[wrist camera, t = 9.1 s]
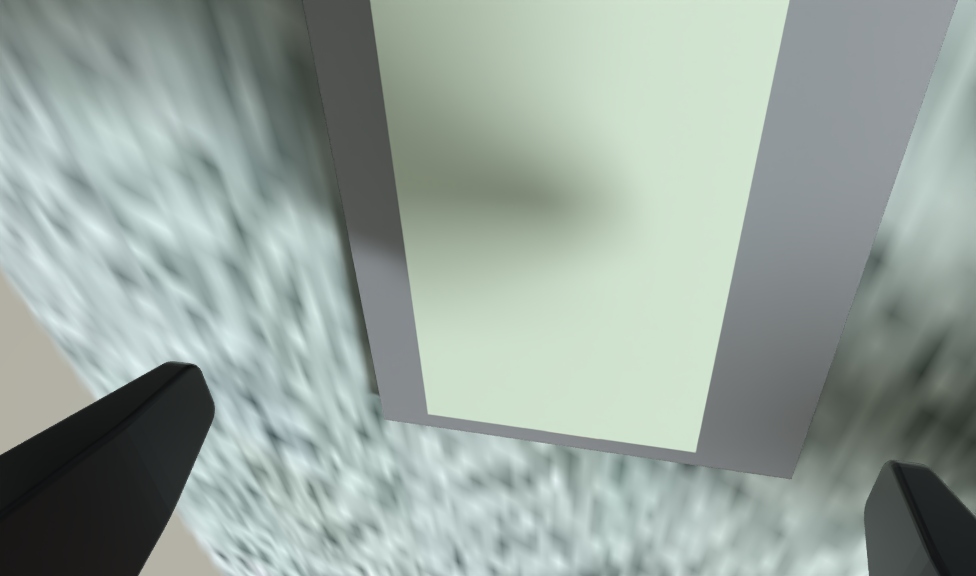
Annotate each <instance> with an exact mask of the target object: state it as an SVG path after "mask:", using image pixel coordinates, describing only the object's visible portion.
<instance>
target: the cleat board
mask: <svg viewBox="0 0 976 576" xmlns="http://www.w3.org/2000/svg"><path fill="white" fill-rule="evenodd" d="M957 1H958V0H789V5H788V10H787V15H786V20H785V25H784V29H783V34H782V39H781V44H780V49H779V53H778V58H777V63H776V68H775V73H774V77H773V82H772V87H771V92H770V97H769V102H768V106H767V111H766V116H765V121H764V126H763V130H762V135H761V140H760V145H759V150H758V154H757V159H756V164H755V169H754V174H753V179H752V183H751V188H750V193H749V198H748V203H747V207H746V212H745V217H744V222H743V227H742V231H741V236H740V241H739V246H738V251H737V256H736V260H735V265H734V270H733V275H732V280H731V284H730V289H729V294H728V299H727V304H726V308H725V313H724V318H723V323H722V328H721V333H720V337H719V342H718V347H717V352H716V357H715V361H714V366H713V371H712V376H711V381H710V385H709V390H708V395H707V400H706V405H705V410H704V414H703V419H702V424H701V429H700V434H699V438H698V443H697V448H696V453H695V452H689V451H682V450H675V449H668V448H661V447H654V446H647V445H640V444H633V443H626V442H619V441H612V440H605V439H598V438H591V437H584V436H577V435H570V434H563V433H556V432H549V431H542V430H535V429H528V428H521V427H514V426H507V425H500V424H493V423H486V422H479V421H472V420H465V419H458V418H451V417H444V416H437V415H430V414H428V410H427V403H426V396H425V389H424V382H423V375H422V368H421V361H420V353H419V346H418V339H417V332H416V325H415V318H414V311H413V303H412V296H411V289H410V282H409V275H408V268H407V261H406V253H405V246H404V239H403V232H402V225H401V218H400V211H399V204H398V196H397V189H396V182H395V175H394V168H393V161H392V154H391V146H390V139H389V132H388V125H387V118H386V111H385V104H384V97H383V89H382V82H381V75H380V68H379V61H378V54H377V47H376V39H375V32H374V25H373V18H372V11H371V4H370V0H302V2H303V7H304V13H305V18H306V23H307V28H308V33H309V38H310V43H311V48H312V53H313V58H314V64H315V69H316V74H317V79H318V84H319V89H320V94H321V99H322V104H323V109H324V114H325V120H326V125H327V130H328V135H329V140H330V145H331V150H332V155H333V160H334V165H335V170H336V176H337V181H338V186H339V191H340V196H341V201H342V206H343V211H344V216H345V221H346V227H347V232H348V237H349V242H350V247H351V252H352V257H353V262H354V267H355V272H356V277H357V283H358V288H359V293H360V298H361V303H362V308H363V313H364V318H365V323H366V328H367V333H368V339H369V344H370V349H371V354H372V359H373V364H374V369H375V374H376V379H377V384H378V390H379V395H380V400H381V405H382V410H383V415H384V419H385V420H392V421H398V422H405V423H412V424H419V425H426V426H432V427H439V428H446V429H453V430H460V431H466V432H473V433H480V434H487V435H494V436H500V437H507V438H514V439H521V440H528V441H534V442H541V443H548V444H555V445H562V446H568V447H575V448H582V449H589V450H596V451H602V452H609V453H616V454H623V455H630V456H636V457H643V458H650V459H657V460H664V461H670V462H677V463H684V464H691V465H698V466H704V467H711V468H718V469H725V470H732V471H738V472H745V473H752V474H759V475H766V476H772V477H779V478H786V479H792V476H793V473H794V470H795V467H796V464H797V461H798V459H799V456H800V453H801V450H802V447H803V444H804V441H805V438H806V436H807V433H808V430H809V427H810V424H811V421H812V418H813V415H814V413H815V410H816V407H817V404H818V401H819V398H820V395H821V392H822V390H823V387H824V384H825V381H826V378H827V375H828V372H829V369H830V367H831V364H832V361H833V358H834V355H835V352H836V349H837V346H838V343H839V341H840V338H841V335H842V332H843V329H844V326H845V323H846V320H847V318H848V315H849V312H850V309H851V306H852V303H853V300H854V297H855V295H856V292H857V289H858V286H859V283H860V280H861V277H862V274H863V272H864V269H865V266H866V263H867V260H868V257H869V254H870V251H871V249H872V246H873V243H874V240H875V237H876V234H877V231H878V228H879V225H880V223H881V220H882V217H883V214H884V211H885V208H886V205H887V202H888V200H889V197H890V194H891V191H892V188H893V185H894V182H895V179H896V177H897V174H898V171H899V168H900V165H901V162H902V159H903V156H904V154H905V151H906V148H907V145H908V142H909V139H910V136H911V133H912V131H913V128H914V125H915V122H916V119H917V116H918V113H919V110H920V107H921V105H922V102H923V99H924V96H925V93H926V90H927V87H928V84H929V82H930V79H931V76H932V73H933V70H934V67H935V64H936V61H937V59H938V56H939V53H940V50H941V47H942V44H943V41H944V38H945V36H946V33H947V30H948V27H949V24H950V21H951V18H952V15H953V13H954V10H955V7H956V4H957Z"/></svg>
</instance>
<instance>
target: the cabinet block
mask: <svg viewBox="0 0 976 576" xmlns="http://www.w3.org/2000/svg"><path fill="white" fill-rule="evenodd" d="M370 4H371V11H372V18H373V25H374V32H375V39H376V47H377V54H378V61H379V68H380V75H381V82H382V89H383V97H384V104H385V111H386V118H387V125H388V132H389V139H390V146H391V154H392V161H393V168H394V175H395V182H396V189H397V196H398V204H399V211H400V218H401V225H402V232H403V239H404V246H405V253H406V261H407V268H408V275H409V282H410V289H411V296H412V303H413V311H414V318H415V325H416V332H417V339H418V346H419V353H420V361H421V368H422V375H423V382H424V389H425V396H426V403H427V410H428V414H430V415H437V416H444V417H451V418H458V419H465V420H472V421H479V422H486V423H493V424H500V425H507V426H514V427H521V428H528V429H535V430H542V431H549V432H556V433H563V434H570V435H577V436H584V437H591V438H598V439H605V440H612V441H619V442H626V443H633V444H640V445H647V446H654V447H661V448H668V449H675V450H682V451H689V452H695V453H696V448H697V443H698V438H699V434H700V429H701V424H702V419H703V414H704V410H705V405H706V400H707V395H708V390H709V385H710V381H711V376H712V371H713V366H714V361H715V357H716V352H717V347H718V342H719V337H720V333H721V328H722V323H723V318H724V313H725V308H726V304H727V299H728V294H729V289H730V284H731V280H732V275H733V270H734V265H735V260H736V256H737V251H738V246H739V241H740V236H741V231H742V227H743V222H744V217H745V212H746V207H747V203H748V198H749V193H750V188H751V183H752V179H753V174H754V169H755V164H756V159H757V154H758V150H759V145H760V140H761V135H762V130H763V126H764V121H765V116H766V111H767V106H768V102H769V97H770V92H771V87H772V82H773V77H774V73H775V68H776V63H777V58H778V53H779V49H780V44H781V39H782V34H783V29H784V25H785V20H786V15H787V10H788V5H789V0H370Z"/></svg>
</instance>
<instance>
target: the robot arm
mask: <svg viewBox="0 0 976 576" xmlns="http://www.w3.org/2000/svg"><path fill="white" fill-rule="evenodd" d="M214 413H215V406H214V401H213V399H212V396H211V394H210V391H209V389H208V386H207V384H206V381H205V379H204V376H203V374H202V371H201V370H200V368H199V367H198V366H196V365H195V364H191V363H183V362H176V361H170V362H166V363H164V364H162V365H160V366H158V367H157V368H155V369H153V370H151V371H149V372H148V373H146V374H144V375H142V376H140V377H139V378H137V379H135V380H133V381H132V382H130V383H128V384H126V385H124V386H123V387H121V388H119V389H117V390H115V391H114V392H112V393H110V394H108V395H107V396H105V397H103V398H101V399H99V400H98V401H96V402H94V403H92V404H91V405H89V406H87V407H85V408H83V409H82V410H80V411H78V412H77V413H75V414H73V415H71V416H69V417H67V418H66V419H64V420H62V421H60V422H59V423H57V424H55V425H53V426H51V427H49V428H48V429H46V430H44V431H43V432H41V433H39V434H37V435H35V436H33V437H32V438H30V439H28V440H26V441H24V442H23V443H21V444H19V445H17V446H16V447H14V448H12V449H10V450H9V451H7V452H5V453H3V454H1V455H0V576H138V575H139V574H140V572H141V570H142V568H143V566H144V565H145V562H146V561H147V559H148V557H149V556H150V554H151V552H152V550H153V548H154V547H155V545H156V543H157V541H158V539H159V538H160V536H161V534H162V532H163V530H164V528H165V527H166V525H167V523H168V521H169V519H170V517H171V515H172V513H173V511H174V509H175V507H176V504H177V502H178V500H179V498H180V496H181V493H182V491H183V489H184V486H185V484H186V482H187V479H188V477H189V475H190V472H191V470H192V468H193V465H194V463H195V461H196V459H197V456H198V454H199V452H200V449H201V447H202V445H203V442H204V440H205V438H206V435H207V433H208V431H209V428H210V426H211V424H212V421H213V418H214ZM864 525H865V536H866V547H867V558H868V569H869V576H976V517H975V516H974V515H973V514H972V512H971V511H970V510H969V509H968V508H967V507H966V506H965V505H964V504H963V503H962V502H961V500H960V499H959V498H958V497H957V496H956V495H955V494H954V493H953V492H952V491H951V490H950V488H949V487H948V486H947V485H946V484H945V483H944V482H943V481H942V480H941V479H940V478H939V476H938V475H937V474H936V473H935V472H934V471H933V470H932V469H930V468H929V467H928V466H926V465H923V464H919V463H912V462H904V461H897V460H890V461H888V462H886V463H885V464H884V466H883V467H882V469H881V471H880V473H879V476H878V478H877V480H876V482H875V484H874V486H873V488H872V491H871V493H870V495H869V497H868V499H867V502H866V505H865V511H864Z"/></svg>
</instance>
